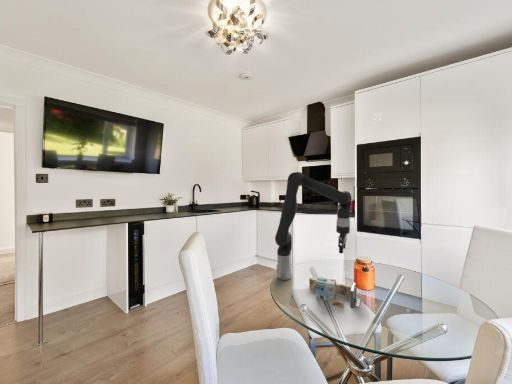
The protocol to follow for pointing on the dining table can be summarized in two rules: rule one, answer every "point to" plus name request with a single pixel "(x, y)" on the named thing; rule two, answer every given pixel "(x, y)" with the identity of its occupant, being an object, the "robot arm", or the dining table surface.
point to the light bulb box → (326, 288)
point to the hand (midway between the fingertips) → (342, 250)
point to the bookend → (354, 301)
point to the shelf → (340, 290)
